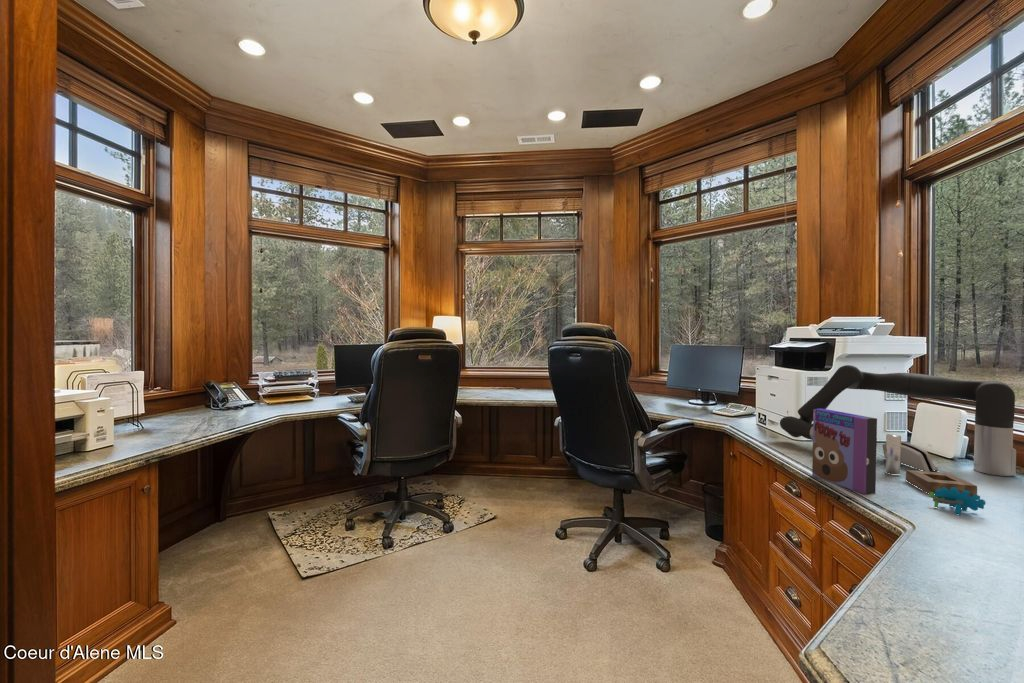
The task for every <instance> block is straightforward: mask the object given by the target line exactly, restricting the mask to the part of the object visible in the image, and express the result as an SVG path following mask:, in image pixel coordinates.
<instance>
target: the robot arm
mask: <svg viewBox="0 0 1024 683" xmlns="http://www.w3.org/2000/svg"><path fill="white" fill-rule="evenodd" d="M847 389H849V390H867V391H878V392H884V393H889V394H896V395H903V396H908V397H916V398H925V399H927V398H928V399H929V398H930V399H959V400H964V401H970V402H971V401H972V402H974V403H975V413H974V448H973V470H975V471H976V472H980V473H982V474H983V473H984V474H987V475H993V476H999V477H1000V476H1001V477H1011V476H1012V477H1013V476H1014V477H1016V472H1017V471H1016V469H1017V449H1016V448H1014V422H1015V407H1016V395H1015V392H1014V390H1013V389H1012V388H1011V387H1010V385H1008V384H1006V383H1004V382H1001V381H997V380H964V379H956V378H954V379H953V378H951V377H945V376H944V377H942V376H936V375H930V374H923V373H915V372H913V373H912V372H893V373H892V372H891V373H873V372H867V371H861V370H860V369H859V368H858V367H856V366H854V365H853V364H852V365H851V364H849V365H848V364H847V365H842V366H840V367H838V368H837V370H836V371H835V372H834V374H833V375H832V376H831V377H830V378H829V380H828V381H827V382H826V383H825V384H824V386H823V387H822V388H820V389H819V391H818V392H816V393H815V394H814V395H813V396H812V397H811V398H809V400H807V401H806V402H805V403H804V404H803V405H802V406H801V407H800V408H799V409H797V414H798V415H799V418H798V417H796V416H790V415H789V416H788V415H787V416H785V417H782V418H781V419H780V421H779V426H780V428H781V429H782V430H784V432H786V433H787V434H788V435H790V436H791V437H793V438H799V437H803V438H805V439H807V440H812V441H813V410H814V409H828V407H829V406H830V405H831V403H832V402H833V401H834V400H835V399H836V397H838V396H839V395H840V394H841V393H842V392H844V391H845V390H847Z"/></svg>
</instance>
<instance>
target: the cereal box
mask: <svg viewBox="0 0 1024 683" xmlns="http://www.w3.org/2000/svg"><path fill="white" fill-rule="evenodd" d="M812 424H813V440H812V466H811V468H812V471H811V472H812V473H811V476H812V477H814V478H816V479H819V480H822V481H825V482H827V483H831V484H833V485H836V486H839V487H841V488H844V489H847V490H850V491H853V492H856V493H858V494H862V495H872V494H871V493H873V494H876V485H877V481H876V480H877V479H876V478H877V441H878V440H877V439H878V433H877V432H878V418H875V417H871V416H867V415H866V416H865V415H860V414H854V413H849V412H844V411H837V410H833V409H828V408H826V409H814V410H813V422H812Z"/></svg>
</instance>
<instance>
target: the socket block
mask: <svg viewBox="0 0 1024 683" xmlns="http://www.w3.org/2000/svg"><path fill="white" fill-rule="evenodd" d="M906 480H907V481H908V482H910V483H911V484H913V485H915V486H917V487H918V488H920V489H922V490H923V491H925V492H927V493H930V492H933V493H934V494H935V491H936V489H938V490H941V488H942V487H945V488H947V489H948V490H951V488H952V487H954V488H957V490H958V491H959V492H961V493H963V490H967V491H970V494H969V496H971V497H973V494H976V495H978V485H976V484H975V483H972V482H969V481H967V480H966V479H963V478H961V477H959V476H957V475H955V474H952V473H950V472H949V473H946V472H939V473H938V472H935V471H930V472H926V471H920V470H915V469H913V470H912V469H906V470H905V481H906ZM908 482H907V483H908ZM911 484H910V485H911ZM913 485H912V486H913ZM915 486H914V487H915ZM918 488H917V489H918ZM920 489H919V490H920ZM922 490H921V491H922ZM923 491H922V492H923ZM925 492H924V493H925ZM927 493H926V494H927Z"/></svg>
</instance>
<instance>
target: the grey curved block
mask: <svg viewBox="0 0 1024 683" xmlns="http://www.w3.org/2000/svg"><path fill="white" fill-rule="evenodd" d="M882 451H883V456H884V459H885V458H886V442H885V443H883V444H882ZM901 463H903V464H906V465H909V466H912V467H914V468H917V469H920V470H923V471H926V472H935V471H939V472H940V470H939V468H938V467H936V466H935V465H934V463H933V461H932V458H931V456H930V453H928V451H927V450H926V449H924V448H922V447H920V446H917V445H916V444H912V443H910V442H905V441H901ZM917 469H916V470H917ZM920 470H919V471H920ZM934 470H935V471H934Z"/></svg>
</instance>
